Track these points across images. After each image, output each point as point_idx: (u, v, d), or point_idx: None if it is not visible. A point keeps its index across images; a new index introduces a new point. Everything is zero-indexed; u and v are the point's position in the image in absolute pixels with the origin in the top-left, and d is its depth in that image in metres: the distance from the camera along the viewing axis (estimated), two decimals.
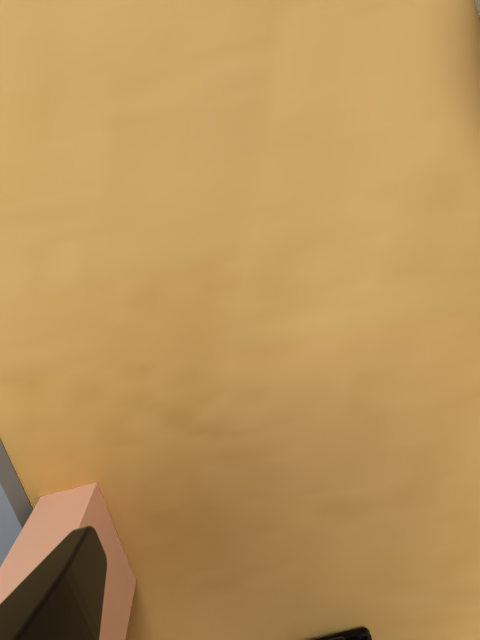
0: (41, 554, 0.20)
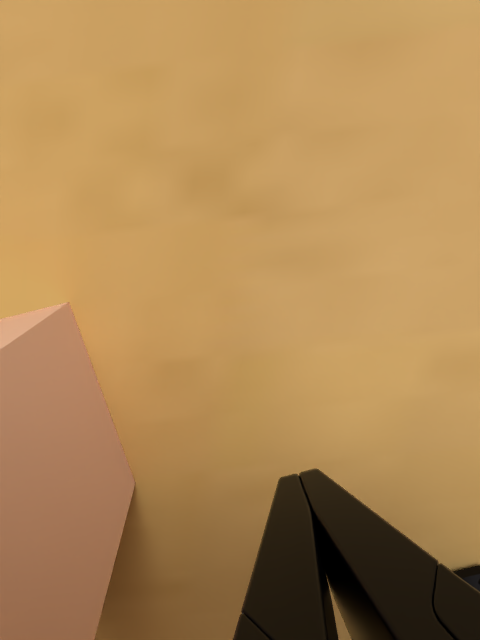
0: None
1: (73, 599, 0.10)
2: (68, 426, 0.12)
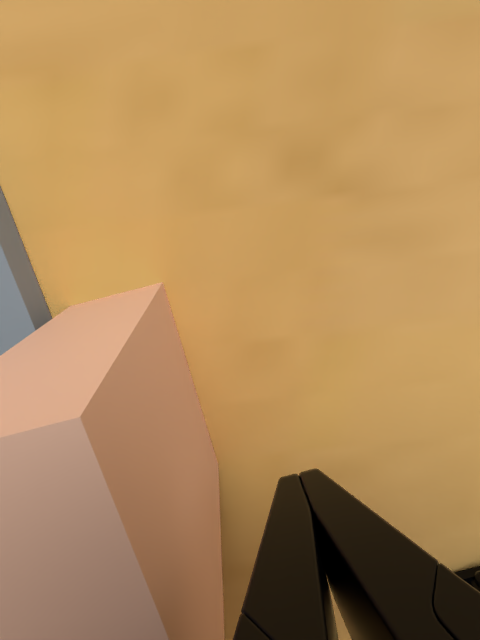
0: (84, 331, 0.10)
1: (208, 567, 0.10)
2: (180, 401, 0.13)
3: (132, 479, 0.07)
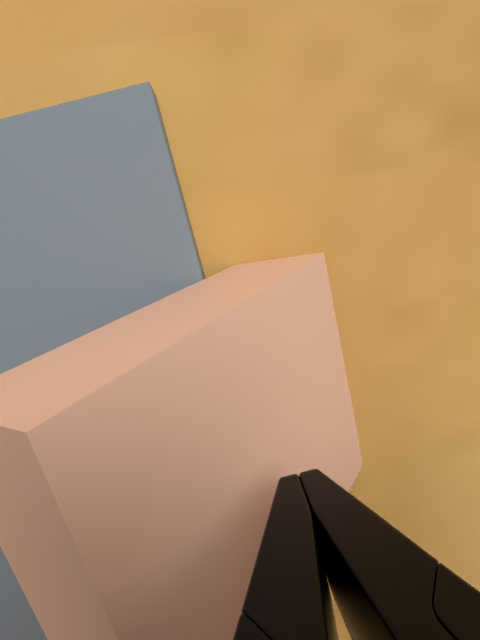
0: (191, 306, 0.10)
1: None
2: (295, 395, 0.11)
3: (118, 492, 0.06)
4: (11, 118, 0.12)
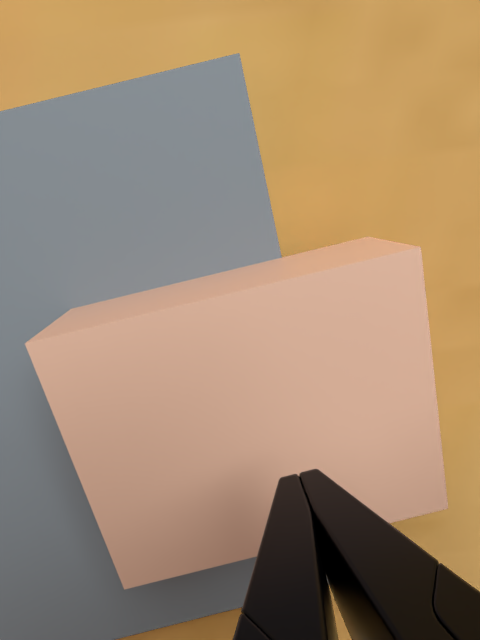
0: (225, 282, 0.11)
1: (226, 519, 0.12)
2: (308, 394, 0.11)
3: (82, 395, 0.10)
4: (98, 89, 0.12)
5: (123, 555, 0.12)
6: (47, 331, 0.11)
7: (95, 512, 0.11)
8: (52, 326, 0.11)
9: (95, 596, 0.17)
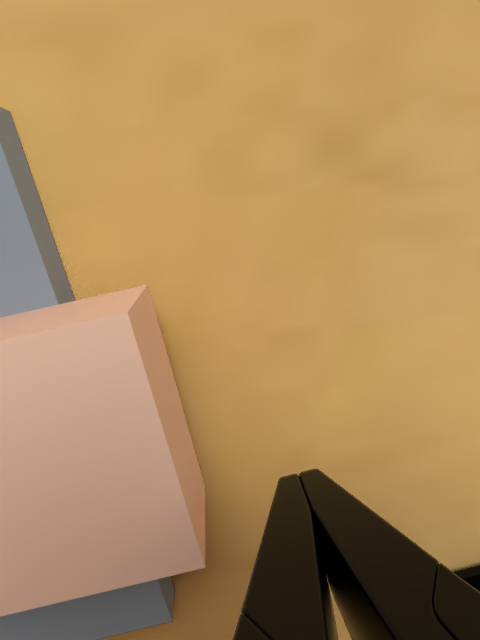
0: None
1: None
2: (32, 456, 0.11)
3: None
4: None
5: None
6: None
7: None
8: None
9: None
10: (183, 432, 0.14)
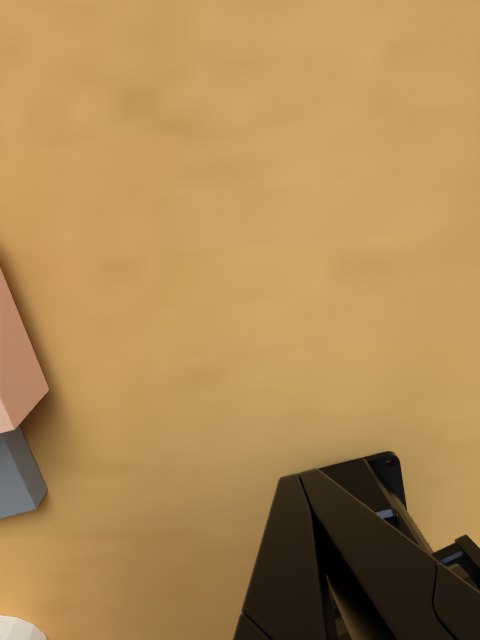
0: None
1: None
2: None
3: None
4: None
5: None
6: None
7: None
8: None
9: None
10: (12, 333, 0.17)
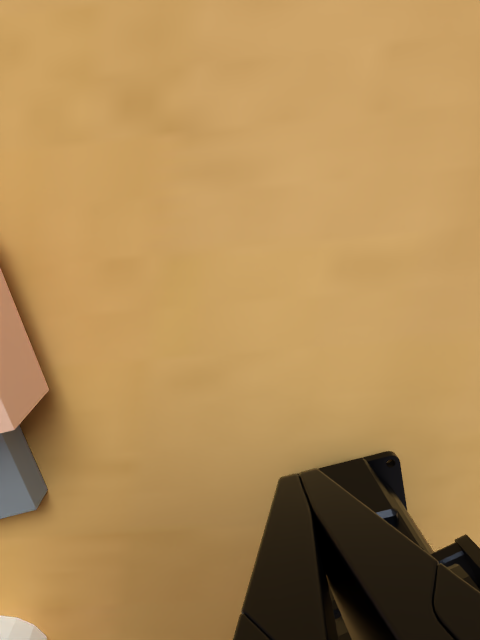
0: None
1: None
2: None
3: None
4: None
5: None
6: None
7: None
8: None
9: None
10: (12, 334, 0.17)
